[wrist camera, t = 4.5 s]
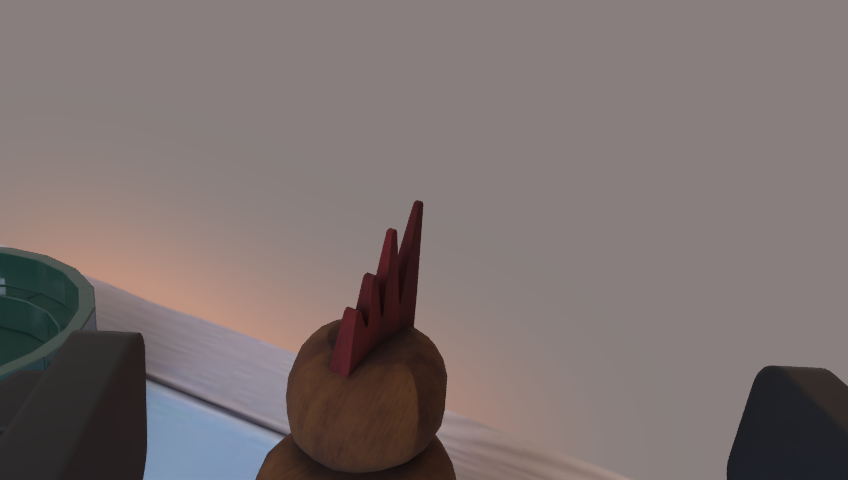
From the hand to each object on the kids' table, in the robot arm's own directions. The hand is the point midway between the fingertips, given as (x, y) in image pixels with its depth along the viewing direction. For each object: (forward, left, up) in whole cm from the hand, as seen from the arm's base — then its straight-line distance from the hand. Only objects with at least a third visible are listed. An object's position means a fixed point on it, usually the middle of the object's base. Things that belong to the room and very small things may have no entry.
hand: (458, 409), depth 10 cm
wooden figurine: (0, +11, -17) cm, 20 cm away
